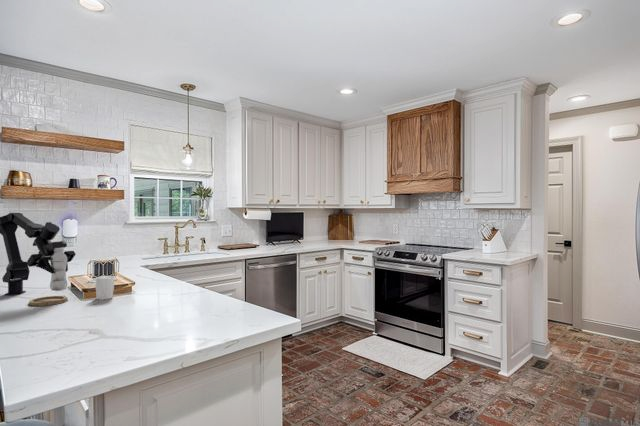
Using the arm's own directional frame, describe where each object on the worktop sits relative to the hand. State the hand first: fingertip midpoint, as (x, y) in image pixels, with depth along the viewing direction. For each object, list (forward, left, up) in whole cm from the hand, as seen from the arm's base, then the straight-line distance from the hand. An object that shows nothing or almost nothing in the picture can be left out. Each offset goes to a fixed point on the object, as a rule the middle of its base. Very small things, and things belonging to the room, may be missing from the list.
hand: (60, 272), depth 169 cm
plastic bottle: (-1, -1, -9) cm, 9 cm away
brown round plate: (+2, -4, -13) cm, 14 cm away
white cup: (0, +18, -13) cm, 23 cm away
